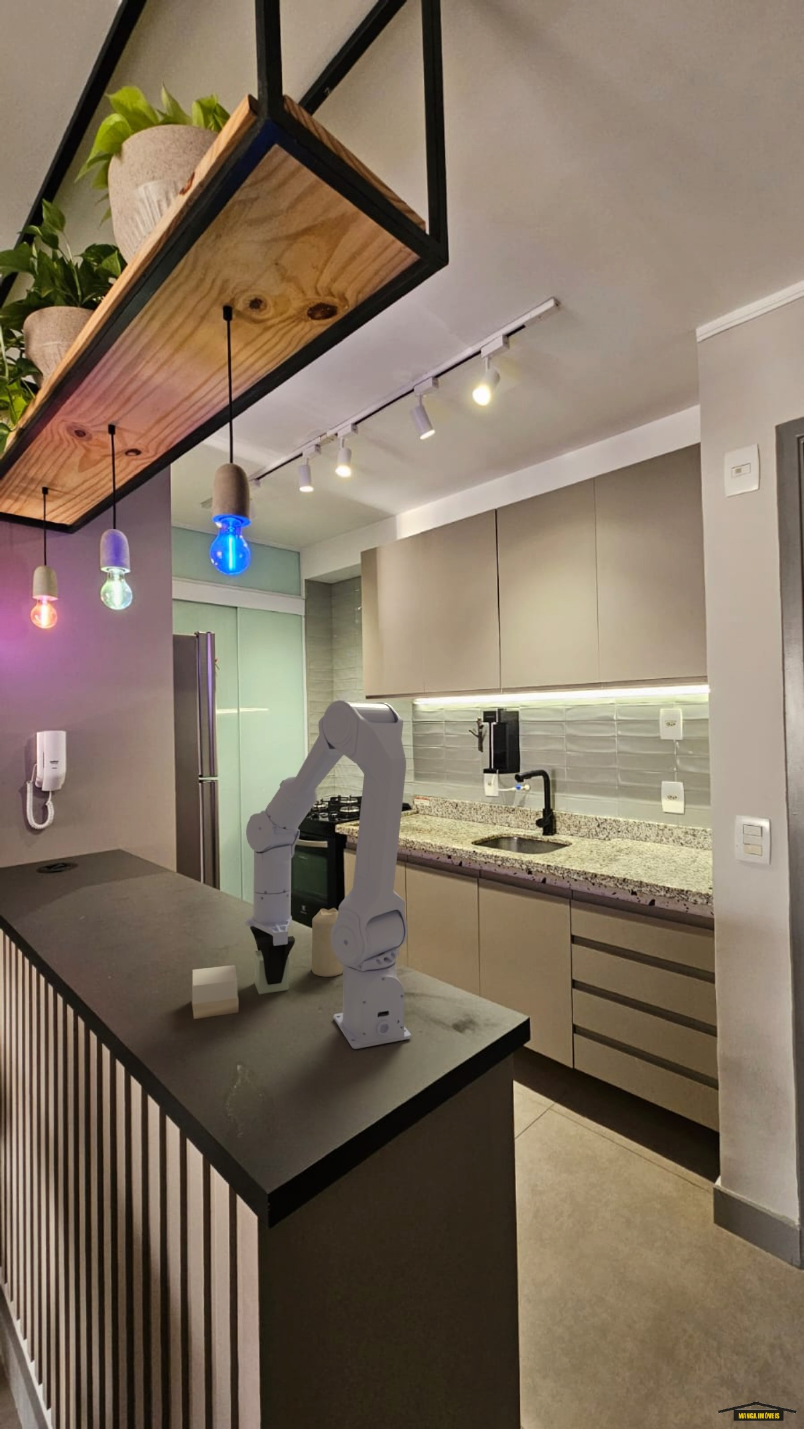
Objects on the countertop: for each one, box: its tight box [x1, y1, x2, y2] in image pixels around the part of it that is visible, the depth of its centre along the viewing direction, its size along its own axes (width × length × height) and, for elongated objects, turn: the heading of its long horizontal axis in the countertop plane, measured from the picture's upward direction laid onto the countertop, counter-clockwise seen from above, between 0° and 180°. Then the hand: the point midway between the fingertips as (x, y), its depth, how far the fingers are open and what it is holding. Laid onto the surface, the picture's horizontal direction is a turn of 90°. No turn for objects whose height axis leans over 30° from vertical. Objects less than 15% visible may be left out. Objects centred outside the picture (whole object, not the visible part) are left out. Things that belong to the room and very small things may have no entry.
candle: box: [311, 907, 343, 978], centre depth 105 cm, size 6×6×10 cm
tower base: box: [191, 986, 239, 1020], centre depth 91 cm, size 6×6×2 cm
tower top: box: [192, 964, 238, 1004], centre depth 91 cm, size 6×6×2 cm
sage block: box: [254, 950, 290, 995], centre depth 99 cm, size 4×4×5 cm
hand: (271, 977), depth 99 cm, fingers closed on sage block, 4 cm apart
